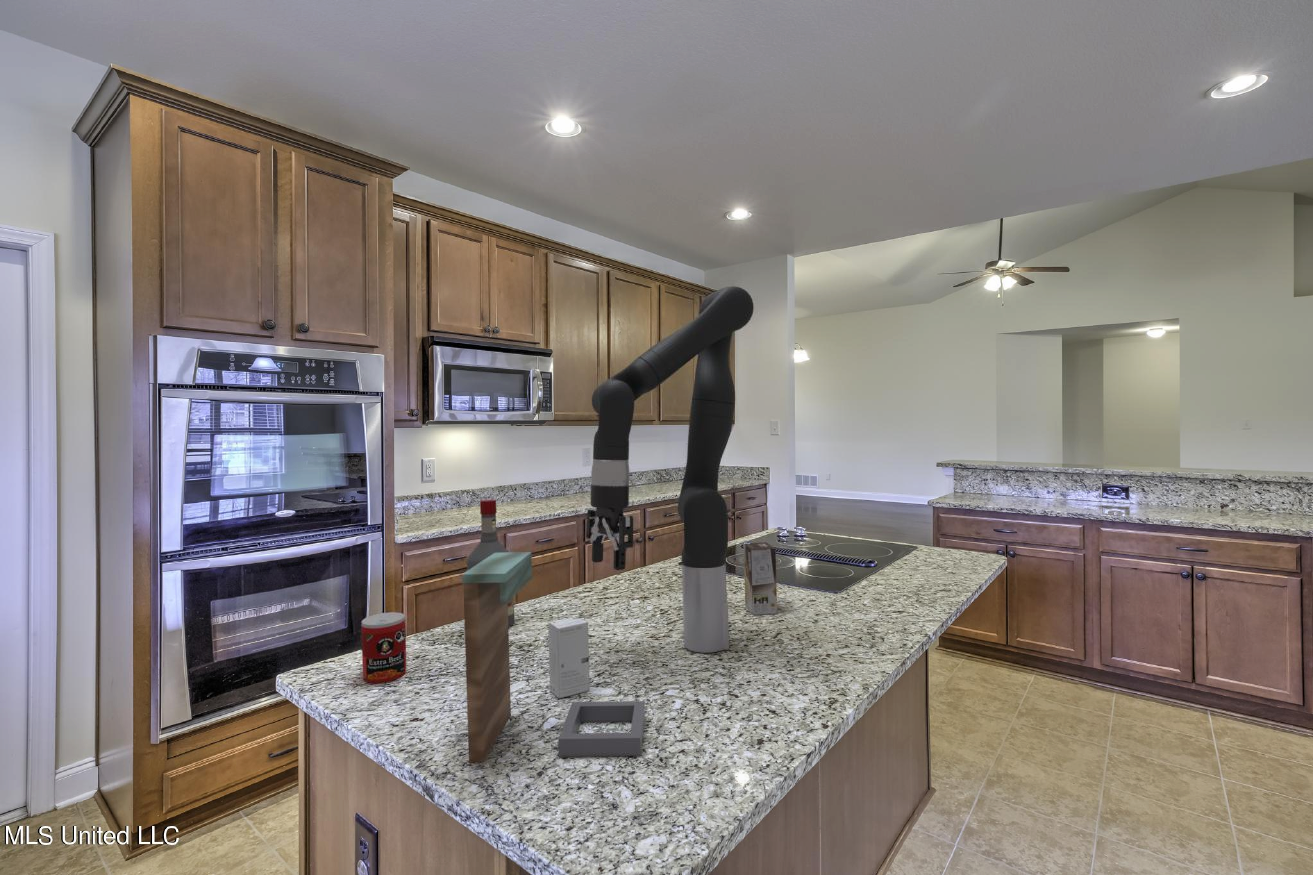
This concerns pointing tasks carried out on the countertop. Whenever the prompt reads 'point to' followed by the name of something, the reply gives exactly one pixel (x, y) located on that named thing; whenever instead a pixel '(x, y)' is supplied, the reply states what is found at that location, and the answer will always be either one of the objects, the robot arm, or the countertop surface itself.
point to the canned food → (383, 647)
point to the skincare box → (568, 657)
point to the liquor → (489, 544)
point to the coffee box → (760, 578)
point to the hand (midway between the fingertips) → (607, 565)
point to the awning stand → (490, 645)
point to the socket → (602, 742)
